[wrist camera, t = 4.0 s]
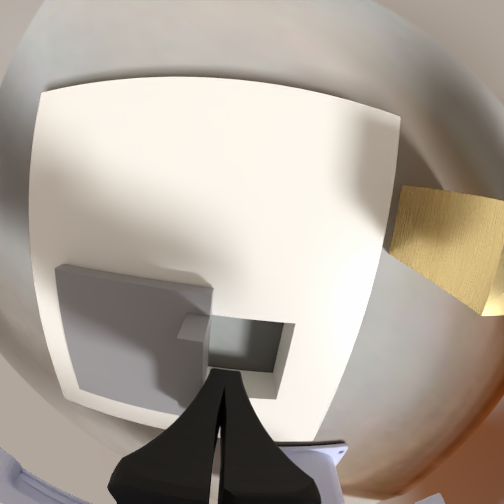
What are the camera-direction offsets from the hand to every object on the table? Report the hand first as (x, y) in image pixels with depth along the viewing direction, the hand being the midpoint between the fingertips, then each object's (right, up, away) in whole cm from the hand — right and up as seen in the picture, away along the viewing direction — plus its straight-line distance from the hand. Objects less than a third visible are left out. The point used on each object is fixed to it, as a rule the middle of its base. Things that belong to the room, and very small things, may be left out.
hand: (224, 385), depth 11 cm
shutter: (-5, +1, +1) cm, 5 cm away
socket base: (-2, +4, +3) cm, 6 cm away
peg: (+11, +8, +3) cm, 14 cm away
